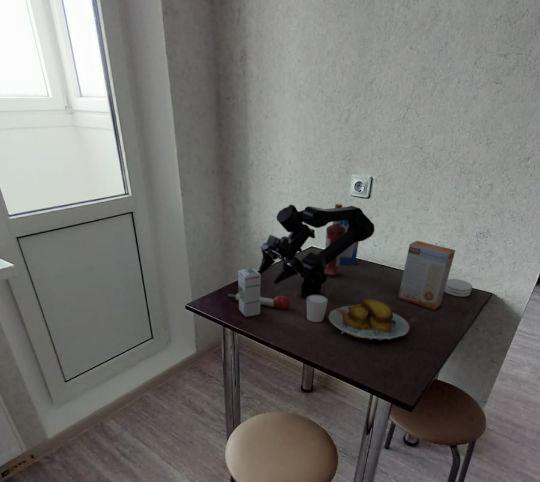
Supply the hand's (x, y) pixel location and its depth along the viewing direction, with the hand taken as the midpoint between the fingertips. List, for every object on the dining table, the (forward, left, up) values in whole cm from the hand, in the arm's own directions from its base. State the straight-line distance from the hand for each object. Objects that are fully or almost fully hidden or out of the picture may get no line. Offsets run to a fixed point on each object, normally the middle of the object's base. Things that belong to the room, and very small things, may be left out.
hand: (266, 278), depth 133 cm
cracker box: (-51, -25, -11) cm, 58 cm away
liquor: (-16, -39, -11) cm, 43 cm away
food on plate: (-35, +1, -11) cm, 36 cm away
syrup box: (+4, +5, -11) cm, 13 cm away
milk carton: (-19, -56, -11) cm, 60 cm away
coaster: (-65, -40, -11) cm, 77 cm away
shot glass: (-18, +1, -11) cm, 21 cm away
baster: (+3, -2, -11) cm, 12 cm away
